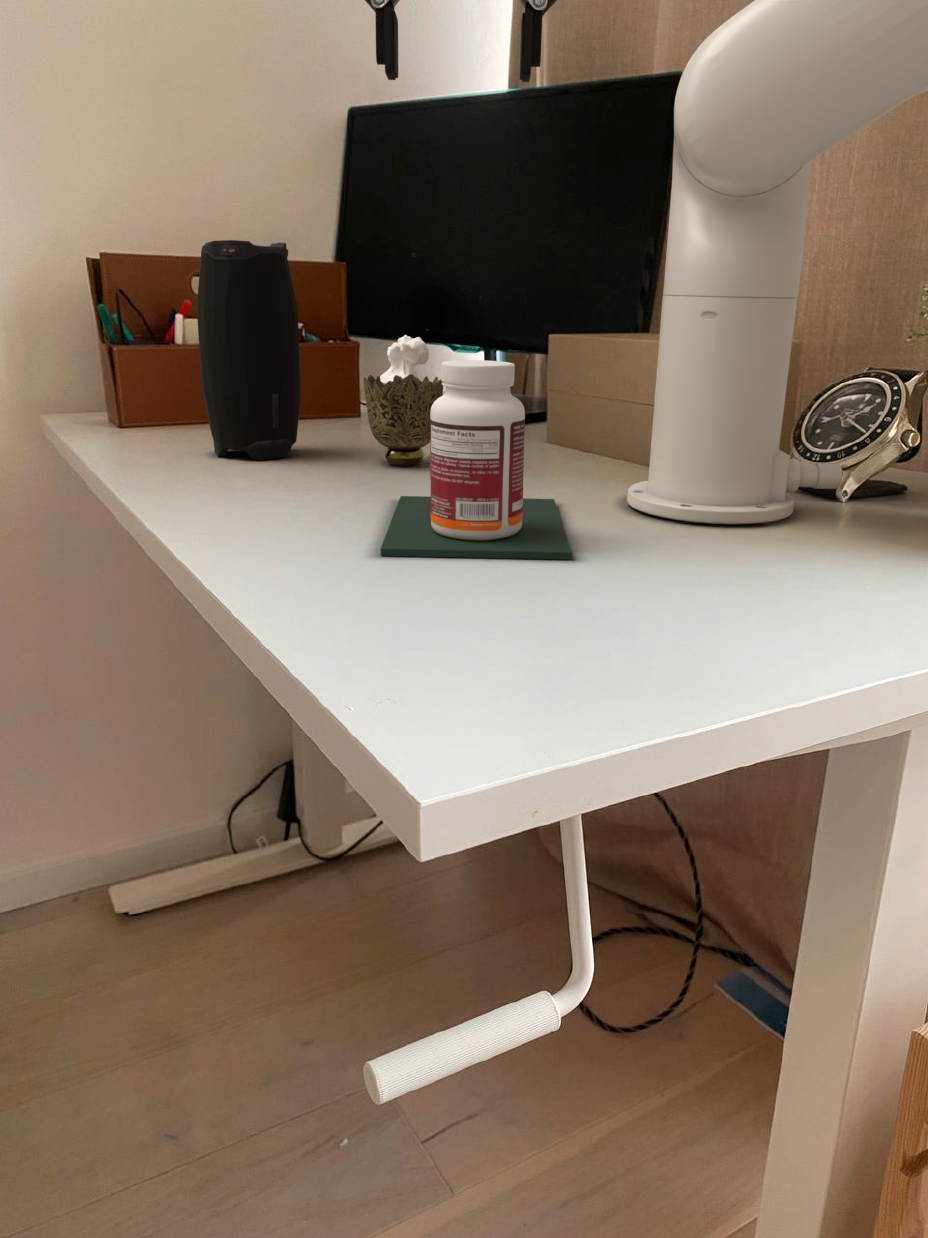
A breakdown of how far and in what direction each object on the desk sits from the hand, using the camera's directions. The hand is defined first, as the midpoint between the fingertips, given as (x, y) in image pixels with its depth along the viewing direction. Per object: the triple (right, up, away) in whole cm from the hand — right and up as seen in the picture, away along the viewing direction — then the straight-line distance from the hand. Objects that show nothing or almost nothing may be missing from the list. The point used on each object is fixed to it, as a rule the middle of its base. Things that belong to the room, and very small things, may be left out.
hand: (458, 77), depth 71 cm
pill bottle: (+1, -33, -5) cm, 34 cm away
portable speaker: (-20, -23, +26) cm, 40 cm away
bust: (-8, -15, +50) cm, 53 cm away
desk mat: (+1, -33, -2) cm, 33 cm away
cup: (-5, -24, +22) cm, 34 cm away
